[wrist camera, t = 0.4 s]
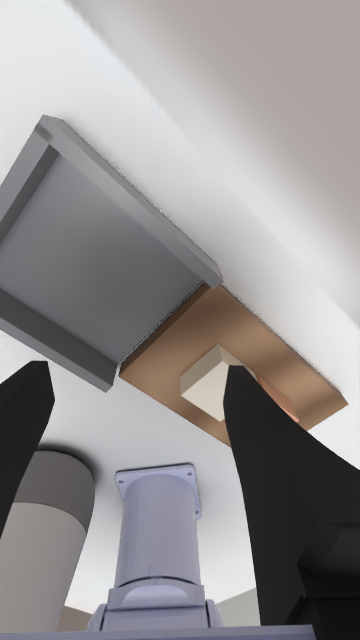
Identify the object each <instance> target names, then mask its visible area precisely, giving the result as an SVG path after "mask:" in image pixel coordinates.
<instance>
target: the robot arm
mask: <svg viewBox="0 0 360 640" xmlns="http://www.w3.org/2000/svg"><path fill="white" fill-rule="evenodd" d="M54 402H55V397H54V392H53V387H52V382H51V377H50V372H49V367H48V362H47V361H30V362H29V363H27V364H26V365H25V366H23V367H22V368H21V369H19V370H18V371H17V372H15V373H14V374H13V375H12V376H10V377H9V378H8V379H6V380H5V381H4V382H2V383H1V384H0V539H1V536H2V533H3V530H4V527H5V524H6V521H7V518H8V515H9V512H10V510H11V507H12V504H13V501H14V498H15V495H16V493H17V490H18V488H19V485H20V483H21V480H22V478H23V476H24V474H25V472H26V470H27V467H28V465H29V463H30V461H31V459H32V457H33V455H34V452H35V450H36V448H37V446H38V444H39V442H40V440H41V437H42V435H43V433H44V431H45V429H46V426H47V424H48V421H49V418H50V415H51V412H52V409H53V405H54ZM223 409H224V417H225V424H226V429H227V433H228V436H229V440H230V444H231V448H232V452H233V456H234V459H235V463H236V467H237V471H238V474H239V478H240V483H241V487H242V492H243V498H244V504H245V510H246V516H247V523H248V530H249V536H250V543H251V550H252V558H253V565H254V572H255V580H256V588H257V597H258V605H259V614H260V623H261V626H246V627H224V623H223V618H222V614H221V611H220V609H219V608H218V607H217V605H216V604H215V602H214V601H213V600H212V599H206V601H205V593H204V586H203V585H201V580H200V567H199V554H198V541H197V528H196V519H200V518H201V517H202V513H201V507H200V501H199V495H198V489H197V483H196V477H195V471H194V466H192V465H180V466H171V467H162V468H153V469H145V470H136V471H127V472H119V473H116V475H115V480H116V483H117V486H118V488H119V491H120V493H121V496H122V499H123V501H124V510H123V519H122V527H121V535H120V543H119V551H118V559H117V568H116V576H115V584H114V588H112V589H109V594H108V602H107V604H100V605H99V607H98V608H97V610H96V612H95V613H94V614H93V615H92V617H91V619H90V621H89V624H88V627H87V631H68V632H33V633H0V640H360V470H359V469H357V468H356V467H354V466H353V465H351V464H350V463H348V462H347V461H345V460H344V459H342V458H341V457H339V456H338V455H337V454H335V453H334V452H332V451H331V450H330V449H328V448H327V447H326V446H324V445H323V444H322V443H320V442H319V441H318V440H317V439H315V438H314V437H313V436H312V435H311V434H309V433H308V432H307V431H306V430H305V429H303V428H302V427H301V426H300V425H299V424H298V423H297V422H295V421H294V420H293V419H292V418H291V417H290V416H289V415H288V414H287V413H286V412H285V411H284V410H283V409H282V408H281V407H280V406H279V405H278V404H277V403H276V402H275V401H274V400H273V398H272V397H271V396H270V395H269V394H268V393H267V392H266V391H265V390H264V389H263V387H262V386H261V385H260V384H259V383H258V382H257V380H256V379H255V378H254V377H253V376H252V374H251V373H250V372H249V371H248V370H247V369H246V367H245V366H244V365H229V368H228V374H227V380H226V386H225V392H224V398H223Z"/></svg>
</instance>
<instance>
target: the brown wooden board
mask: <svg viewBox="0 0 360 640" xmlns="http://www.w3.org/2000/svg"><path fill="white" fill-rule="evenodd" d="M217 344H219V345H220V346H222V347H223V348H224V349H225V350H227V351H228V352H229V353H230V354H232V355H233V356H234V357H235V358H237V359H238V360H239V361H240V362H242V363H243V364H244V365H245V366H247V367H248V368H249V369H250V370H252V371H253V372H254V373H255V376H256V378H257V377H258V376H259V377H260V378H262V379H263V380H264V381H265V382H267V383H268V384H269V385H270V386H272V387H273V388H274V389H275V390H277V391H278V392H279V393H280V394H282V395H283V396H284V397H285V398H287V399H288V400H289V401H290V402H291V404H292V406H293V408H294V410H295V412H296V414H297V416H298V418H299V420H300V421H298V422H297V423H298V424H299V425H300V426H301V427H302V428H303V429H305V430H306V431H308V430H309V429H311V428H312V427H314V426H316V425H317V424H319V423H320V422H322V421H323V420H325V419H326V418H328V417H330V416H331V415H333V414H334V413H336V412H337V411H339V410H341V409H342V408H344V407H345V406H347V405H348V403H347V401H346V400H345V399H344V397H343V396H342V394H341V393H340V392H339V391H338V390H337V389H336V388H335V387H334V386H333V385H332V384H331V383H330V382H328V381H327V380H326V379H325V378H324V377H323V376H322V375H321V374H320V373H318V372H317V371H316V370H315V369H314V368H313V367H312V366H311V365H310V364H309V363H307V362H306V361H305V360H304V359H303V358H302V357H301V356H300V355H299V354H297V353H296V352H295V351H294V350H293V349H292V348H291V347H290V346H289V345H288V344H286V343H285V342H284V341H283V340H282V339H281V338H280V337H279V336H278V335H277V334H275V333H274V332H273V331H272V330H271V329H270V328H269V327H268V326H267V325H265V324H264V323H263V322H262V321H261V320H260V319H259V318H258V317H257V316H256V315H254V314H253V313H252V312H251V311H250V310H249V309H248V308H247V307H246V306H245V305H243V304H242V303H241V302H240V301H239V300H238V299H237V298H236V297H235V296H233V295H232V294H231V293H230V292H229V291H228V290H227V289H226V288H225V287H224V286H222V285H221V284H219V285H218V286H217V287H216V288H215V289H213V288H212V287H210V286H209V285H208V284H207V283H206V282H204V283H203V284H202V285H201V286H200V287H199V288H198V289H197V290H196V291H195V292H194V293H193V294H192V295H191V296H190V297H189V298H188V299H187V300H186V301H185V302H184V303H183V304H182V305H181V306H180V307H179V308H178V309H177V310H176V311H175V312H174V313H173V314H172V315H171V316H170V317H168V318H167V319H166V320H165V321H164V322H163V323H162V324H161V325H160V326H159V327H158V328H157V329H156V330H155V331H154V332H153V333H152V334H151V335H150V336H149V337H148V338H147V339H146V340H145V341H144V342H143V343H142V344H141V345H140V346H139V347H138V348H137V349H136V350H135V351H134V352H133V353H132V354H131V355H130V356H129V357H128V358H127V359H126V360H125V361H124V362H123V363H122V364H121V367H120V372H119V377H120V378H122V379H123V380H125V381H127V382H128V383H130V384H131V385H133V386H134V387H136V388H138V389H139V390H141V391H142V392H144V393H146V394H147V395H149V396H150V397H152V398H153V399H155V400H157V401H158V402H160V403H161V404H163V405H164V406H166V407H168V408H169V409H171V410H172V411H174V412H175V413H177V414H179V415H180V416H182V417H183V418H185V419H187V420H188V421H190V422H191V423H193V424H194V425H196V426H198V427H199V428H201V429H202V430H204V431H205V432H207V433H209V434H210V435H212V436H213V437H215V438H217V439H218V440H220V441H221V442H223V443H224V444H226V445H228V446H229V447H231V444H230V440H229V436H228V433H227V429H226V425H225V423H224V419H223V420H222V421H218V420H217V419H215V418H214V417H212V416H211V415H209V414H208V413H206V412H205V411H203V410H202V409H200V408H199V407H197V406H196V405H194V404H193V403H191V402H190V401H188V400H187V399H185V398H184V397H182V396H181V388H180V376H181V375H182V374H184V373H185V372H186V371H187V370H188V369H189V368H191V367H192V366H193V365H194V364H195V363H196V362H197V361H199V360H200V359H201V358H202V357H203V356H204V355H206V354H207V353H208V352H209V351H210V350H211V349H213V348H214V347H215V346H216V345H217Z"/></svg>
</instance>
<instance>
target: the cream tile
mask: <svg viewBox="0 0 360 640" xmlns="http://www.w3.org/2000/svg"><path fill="white" fill-rule="evenodd" d="M229 365H244V364H243V363H242V362H240V361H239V360H238V359H237V358H235V357H234V356H233V355H232V354H230V353H229V352H228V351H227V350H225V349H224V348H223V347H222V346H220V345H219V344H217V345H216V346H215V347H214V348H213V349H211V350H210V351H209V352H208V353H207V354H206V355H204V356H203V357H202V358H201V359H200V360H199V361H197V362H196V363H195V364H194V365H193V366H192V367H191V368H189V369H188V370H187V371H186V372H185V373H184V374H182V375H181V376H180V388H181V396H182V397H184V398H185V399H187V400H188V401H190V402H191V403H193V404H194V405H196V406H197V407H199V408H200V409H202V410H203V411H205V412H206V413H208V414H209V415H211V416H212V417H214V418H215V419H217V420H218V421H222V420H223V419H224V418H225V417H224V409H223V398H224V392H225V386H226V380H227V374H228V368H229ZM244 366H245V365H244ZM245 367H246V369H247V370H248V371H249V372H250V373H251V374H252V376H253V377H254V378H255V379H256V380H257V378H256V376H255V373H254V372H253V371H252V370H250V369H249V368H248V367H247V366H245ZM257 382H258V381H257Z"/></svg>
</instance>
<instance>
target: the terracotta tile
mask: <svg viewBox="0 0 360 640" xmlns="http://www.w3.org/2000/svg"><path fill="white" fill-rule="evenodd" d="M257 381H258V383H259V384H260V385H261V386H262V387H263V389H264V390H265V391H266V392H267V393H268V394H269V395H270V396H271V397H272V398H273V400H274V401H275V402H276V403H277V404H278V405H279V406H280V407H281V408H282V409H283V410H284V411H285V412H286V413H287V414H288V415H289V416H290V417H291V418H292V419H293V420H294V421H295V422H298V421H300V420H299V418H298V416H297V414H296V412H295V410H294V408H293V406H292V404H291V402H290V401H289V400H288V399H287V398H285V397H284V396H283V395H282V394H280V393H279V392H278V391H277V390H275V389H274V388H273V387H272V386H270V385H269V384H268V383H267V382H265V381H264V380H263V379H262V378H260V377H259V376H258V377H257ZM224 423H225V418H224ZM225 425H226V424H225Z"/></svg>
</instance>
